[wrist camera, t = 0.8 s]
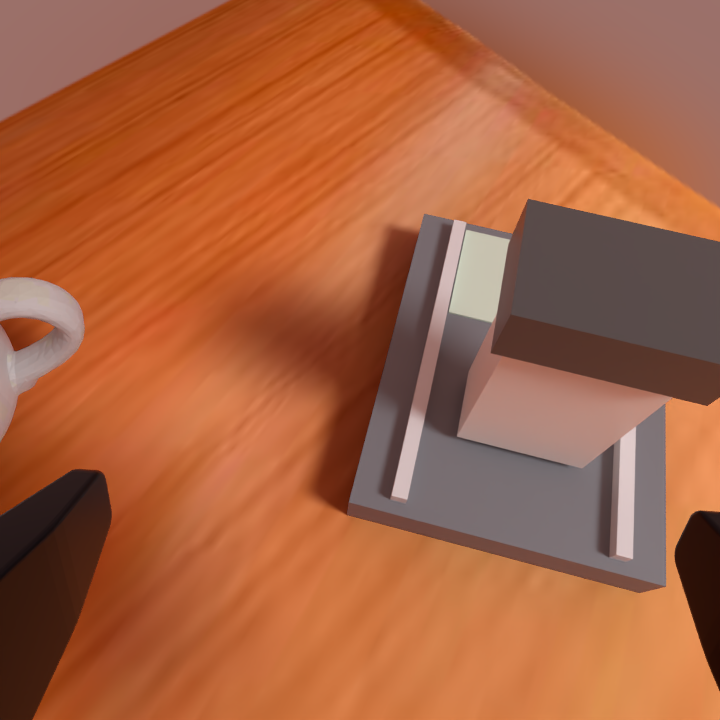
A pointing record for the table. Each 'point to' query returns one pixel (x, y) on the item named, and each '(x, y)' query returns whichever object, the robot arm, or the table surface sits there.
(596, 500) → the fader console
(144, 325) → the table surface
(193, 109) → the table surface
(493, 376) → the fader knob
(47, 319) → the teacup
